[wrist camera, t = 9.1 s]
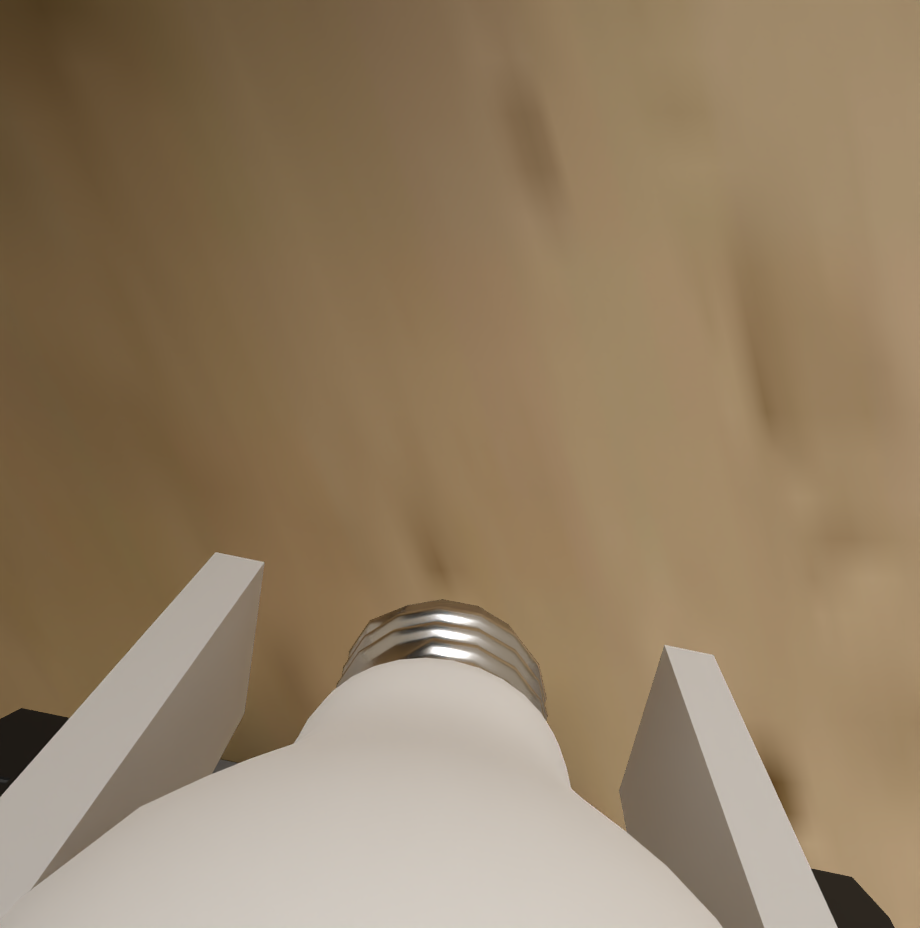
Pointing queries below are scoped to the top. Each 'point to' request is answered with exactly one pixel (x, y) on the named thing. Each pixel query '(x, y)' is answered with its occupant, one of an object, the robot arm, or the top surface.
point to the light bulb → (383, 813)
